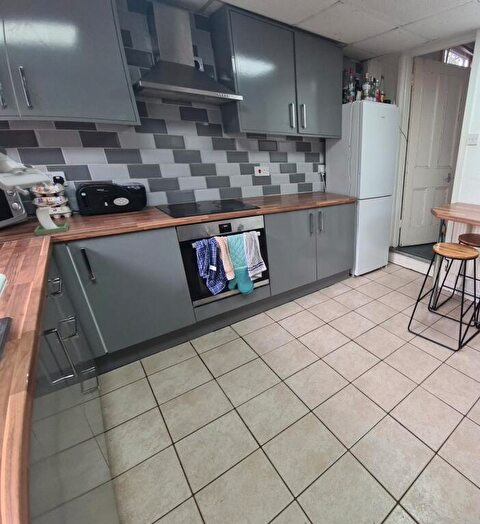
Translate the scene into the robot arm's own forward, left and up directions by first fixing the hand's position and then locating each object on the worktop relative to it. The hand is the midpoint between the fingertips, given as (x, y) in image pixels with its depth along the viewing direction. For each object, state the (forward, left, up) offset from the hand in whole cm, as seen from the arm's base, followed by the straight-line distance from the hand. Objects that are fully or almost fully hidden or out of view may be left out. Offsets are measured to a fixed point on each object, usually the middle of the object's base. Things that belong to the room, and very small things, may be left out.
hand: (38, 192), depth 144 cm
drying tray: (0, 0, -20) cm, 20 cm away
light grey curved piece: (-1, 0, -19) cm, 19 cm away
